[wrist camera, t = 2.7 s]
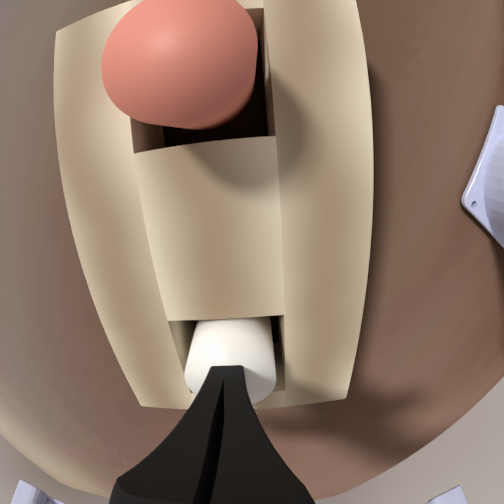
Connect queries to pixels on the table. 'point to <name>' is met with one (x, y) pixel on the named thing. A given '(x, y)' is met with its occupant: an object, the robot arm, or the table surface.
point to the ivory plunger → (234, 353)
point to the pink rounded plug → (182, 62)
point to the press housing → (227, 207)
